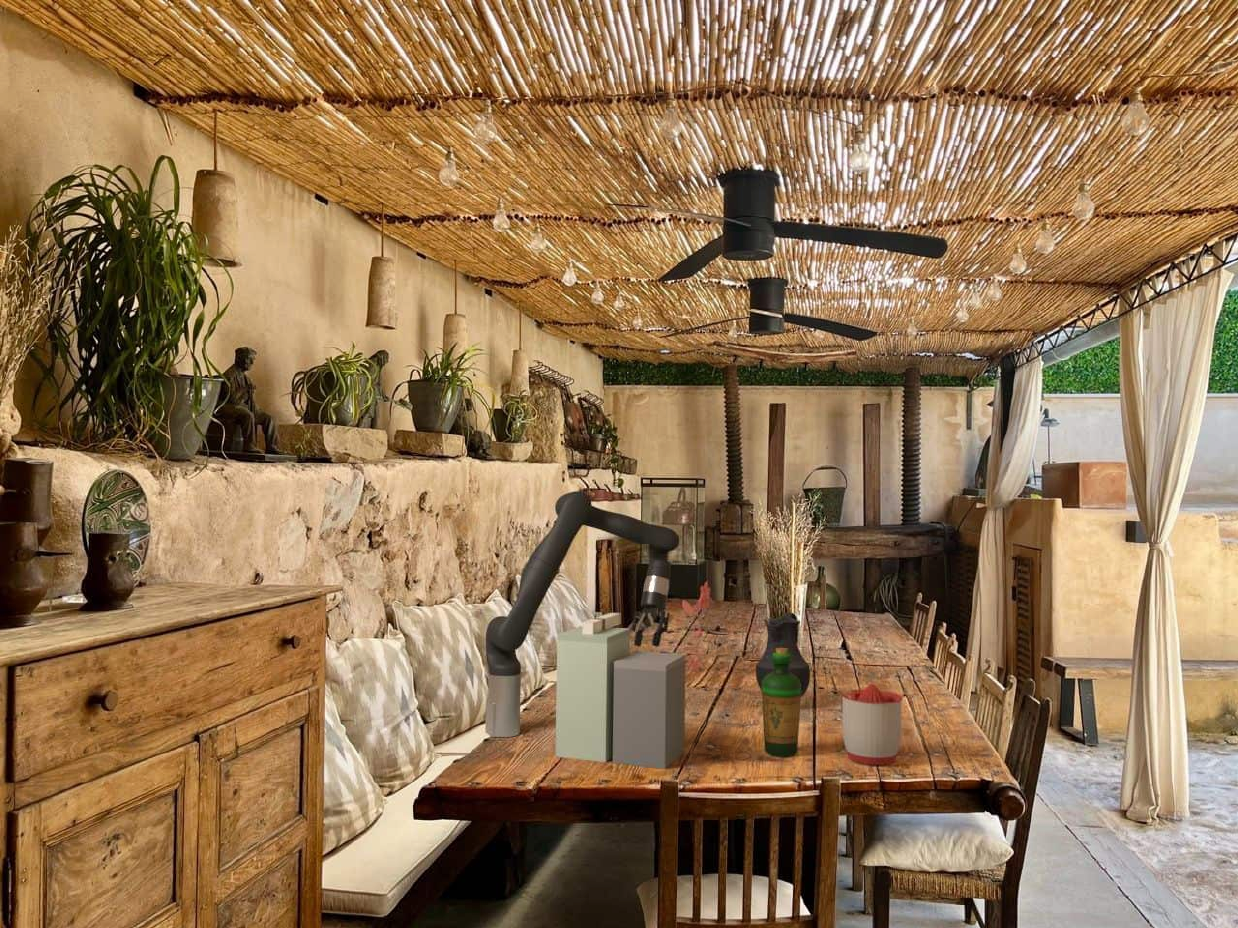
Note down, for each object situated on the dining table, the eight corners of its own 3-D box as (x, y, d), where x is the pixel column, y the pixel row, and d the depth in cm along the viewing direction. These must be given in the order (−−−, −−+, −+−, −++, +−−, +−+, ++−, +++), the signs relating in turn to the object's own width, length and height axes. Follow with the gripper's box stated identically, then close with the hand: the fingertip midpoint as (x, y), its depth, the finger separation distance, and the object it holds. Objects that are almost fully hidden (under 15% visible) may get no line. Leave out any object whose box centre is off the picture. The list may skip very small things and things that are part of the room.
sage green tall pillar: (581, 740, 273) (582, 625, 273) (628, 745, 268) (629, 628, 269) (555, 756, 256) (557, 634, 256) (605, 762, 251) (607, 637, 252)
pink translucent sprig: (675, 676, 366) (678, 583, 367) (696, 665, 390) (699, 578, 390) (714, 681, 360) (717, 586, 361) (733, 669, 384) (736, 580, 385)
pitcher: (748, 709, 314) (749, 615, 314) (769, 697, 332) (770, 609, 333) (800, 715, 305) (801, 619, 306) (819, 703, 324) (820, 612, 325)
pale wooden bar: (610, 623, 279) (611, 612, 279) (620, 623, 278) (621, 613, 278) (582, 633, 258) (582, 622, 258) (593, 634, 257) (593, 622, 257)
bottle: (770, 759, 255) (771, 652, 256) (754, 749, 265) (755, 646, 266) (807, 757, 258) (808, 651, 259) (790, 746, 268) (791, 644, 269)
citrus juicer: (851, 747, 268) (851, 674, 269) (911, 759, 257) (912, 683, 258) (824, 759, 256) (825, 683, 257) (887, 772, 245) (887, 692, 246)
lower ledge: (635, 745, 267) (636, 650, 268) (684, 751, 262) (685, 654, 263) (612, 762, 250) (614, 661, 251) (664, 768, 246) (666, 665, 246)
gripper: (631, 590, 300) (622, 643, 295) (661, 588, 289) (651, 643, 284) (649, 597, 304) (641, 648, 299) (679, 595, 293) (671, 648, 288)
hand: (646, 645), depth 291 cm, fingers open, 8 cm apart
